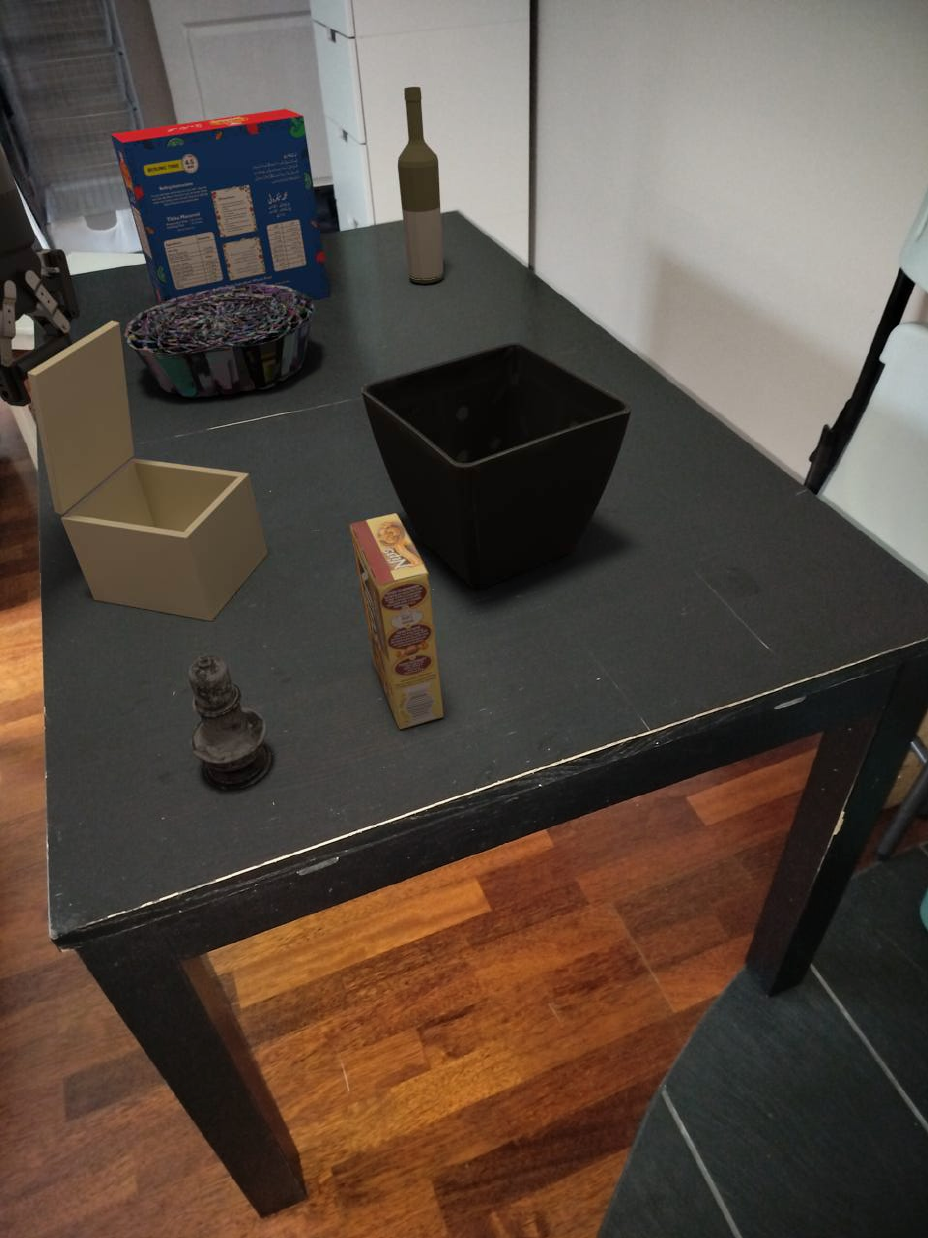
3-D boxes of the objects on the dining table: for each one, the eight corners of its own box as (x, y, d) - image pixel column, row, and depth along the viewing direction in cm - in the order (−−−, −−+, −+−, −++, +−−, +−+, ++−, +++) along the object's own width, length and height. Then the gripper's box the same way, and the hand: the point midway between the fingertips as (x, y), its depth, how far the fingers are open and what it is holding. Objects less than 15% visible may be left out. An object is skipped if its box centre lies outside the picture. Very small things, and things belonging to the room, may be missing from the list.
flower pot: (624, 554, 88) (638, 402, 77) (469, 623, 81) (460, 466, 70) (518, 478, 101) (517, 338, 90) (376, 531, 94) (356, 386, 83)
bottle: (450, 274, 158) (439, 83, 138) (440, 287, 152) (427, 91, 133) (413, 272, 159) (397, 84, 140) (402, 285, 154) (384, 92, 135)
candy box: (446, 718, 72) (433, 571, 62) (397, 732, 71) (376, 585, 61) (415, 652, 78) (398, 510, 68) (370, 665, 77) (347, 522, 67)
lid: (119, 322, 78) (67, 305, 79) (35, 375, 70) (-23, 355, 71) (134, 455, 88) (87, 439, 89) (62, 515, 80) (11, 497, 80)
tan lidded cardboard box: (268, 553, 91) (249, 473, 85) (211, 621, 83) (186, 537, 77) (158, 536, 95) (132, 457, 89) (93, 599, 86) (60, 518, 80)
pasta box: (312, 283, 157) (285, 108, 139) (329, 295, 152) (303, 115, 134) (160, 317, 147) (110, 133, 129) (173, 331, 142) (122, 142, 124)
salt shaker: (185, 781, 68) (142, 670, 60) (228, 729, 72) (192, 619, 64) (248, 801, 66) (212, 690, 58) (288, 747, 70) (259, 636, 62)
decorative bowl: (346, 393, 125) (342, 324, 119) (151, 425, 115) (136, 352, 109) (293, 335, 143) (287, 273, 137) (121, 359, 133) (106, 293, 127)
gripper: (-9, 167, 74) (62, 354, 85) (-146, 213, 64) (-46, 420, 74) (62, 166, 72) (126, 359, 83) (-68, 214, 62) (24, 428, 72)
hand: (44, 387), depth 78 cm, fingers closed on lid, 6 cm apart
